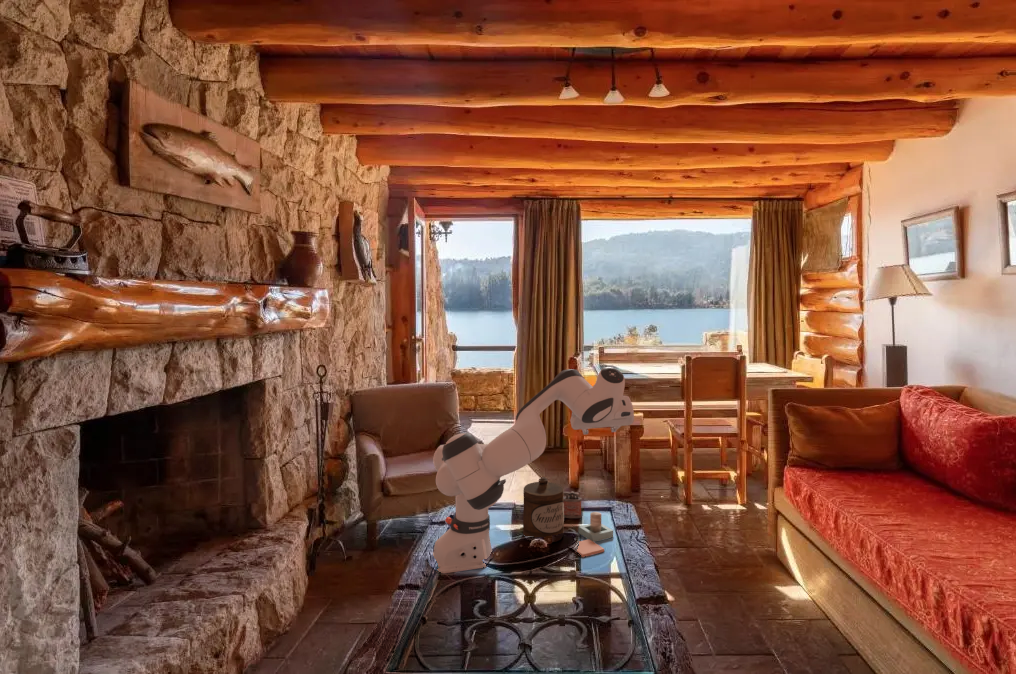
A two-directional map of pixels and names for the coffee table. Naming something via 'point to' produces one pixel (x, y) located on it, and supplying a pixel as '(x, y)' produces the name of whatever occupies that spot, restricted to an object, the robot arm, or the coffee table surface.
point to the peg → (595, 522)
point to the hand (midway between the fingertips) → (599, 431)
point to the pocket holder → (597, 536)
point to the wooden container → (543, 509)
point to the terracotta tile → (588, 548)
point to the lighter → (572, 505)
